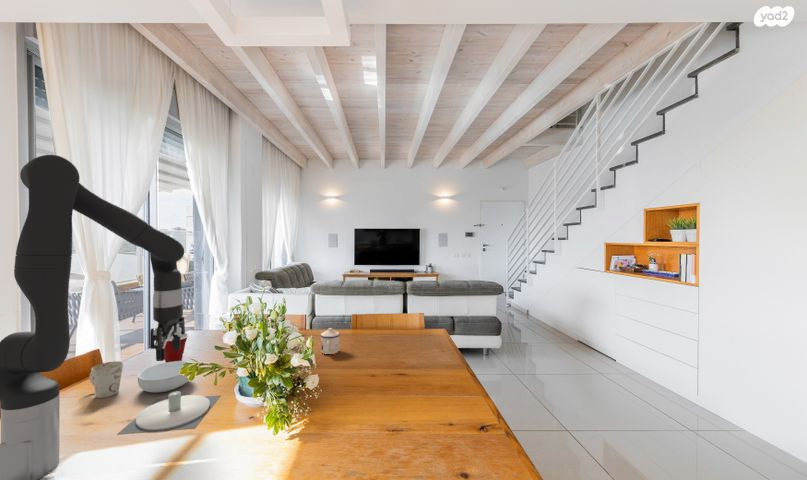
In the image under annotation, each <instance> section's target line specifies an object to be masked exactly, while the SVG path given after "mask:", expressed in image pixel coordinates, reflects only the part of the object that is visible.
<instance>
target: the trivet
mask: <svg viewBox="0 0 807 480" xmlns="http://www.w3.org/2000/svg"><path fill="white" fill-rule="evenodd" d="M203 396H204V395H203ZM204 397H206V398H208V399H209V401H210V407H209V409H208V410H207V411H206V413H204V414H203V415H202V416H200V417H199V418H197V419H195V420H193V421H191V422H189V423H186V424H184V425H180V426H177V427H174V428H169V429H163V430H144V429H141V428H139V427H137V425H136V417H135V418H134V419H133V420H132V421H130V422H129V423H128V424H127V425H126V426H125V427H123V428H122V429H121V430H120V431H119V432H117V433H116V435H129V434H141V433H142V434H143V433H155V432H168V431H179V430H191V429H192V430H193V429H196V428H197V427H198V425H200V423H201V422H202V420H203V419H204V418H205V417H206V415H207V414H208V412H210V410H211V409H212V408H213V406H215V404H216V403H217V401H218V400H219V399H220V398H221V395H209V396H208V395H207V396H204ZM166 399H167V398H163V399H162V398H161V399H160V398H159V399H158V398H157V399H156V400H155V401H153V403H151V405H153V404H155V403H158V402H160V401H163V400H166ZM151 405H149V406H151Z"/></svg>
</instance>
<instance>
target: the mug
mask: <svg viewBox="0 0 807 480" xmlns="http://www.w3.org/2000/svg"><path fill="white" fill-rule="evenodd" d="M123 366H124V362H123V361H120V360H119V361H117V360H115V361H107V362H103V363H99V364H96V365H94V366H93V367H91V371H90V373H89V377H88V378H89V381H90V383H91V384H92V386H93V389H94V394H95V397H96V398H99V399H101V398H102V399H103V398H108V397H112V396H115V395H116V394H118V393H119V391H120V386H121V379H122V373H123Z"/></svg>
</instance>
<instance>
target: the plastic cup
mask: <svg viewBox="0 0 807 480" xmlns="http://www.w3.org/2000/svg"><path fill="white" fill-rule="evenodd" d="M189 335H190V334H189V333H187V332H185V334H182V337H181V349H180V350H176V351H173V350H172V339H174V338H172V336H171V337H170V339H169V341H167V343H166V346H165V360H164V361H165V362H164V363H167V362H174V361H183V357H184V356H183V355H184V352H185V348H186V342H187V339H188V338H189ZM162 343H163V341H162Z"/></svg>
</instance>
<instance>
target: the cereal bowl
mask: <svg viewBox="0 0 807 480" xmlns="http://www.w3.org/2000/svg"><path fill="white" fill-rule="evenodd" d="M185 363H192V364H193V362H191V361H187V360H182V361H174V362H167V363H166V362H163V363H159V364H156V365H152V366H150V367H147V368H145V369H143V370H142V371H140V372H139V373H138V375H137V384H138V387H139V388H140V389H141V390H143V391H145V392H148V393H165V392H170V391H173V390H175V389H178V388H179V387H180V388H181V387H182V386H183V385H185V384H186V383H187V382H188V381H189V380H188V378H187V377H184V376H183V375H180V374H179V372H180V369H181V367H182V365H183V364H185ZM193 365H194V364H193Z"/></svg>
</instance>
